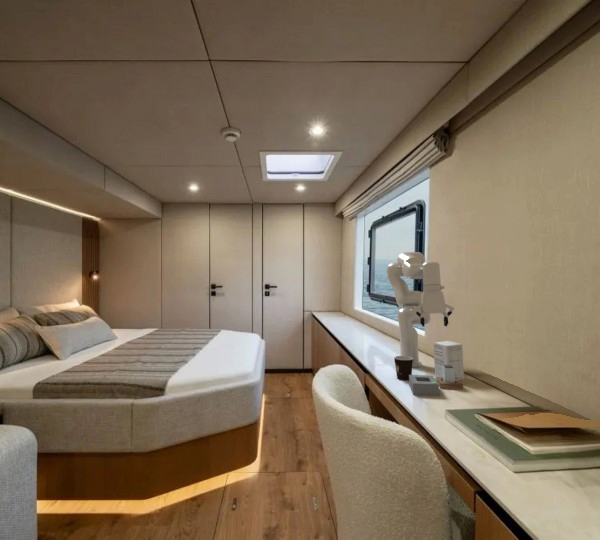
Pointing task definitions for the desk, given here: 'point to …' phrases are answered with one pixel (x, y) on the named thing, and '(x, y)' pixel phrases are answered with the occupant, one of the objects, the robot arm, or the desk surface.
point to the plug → (448, 374)
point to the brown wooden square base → (449, 384)
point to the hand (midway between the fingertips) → (434, 326)
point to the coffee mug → (403, 367)
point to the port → (423, 385)
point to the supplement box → (448, 358)
